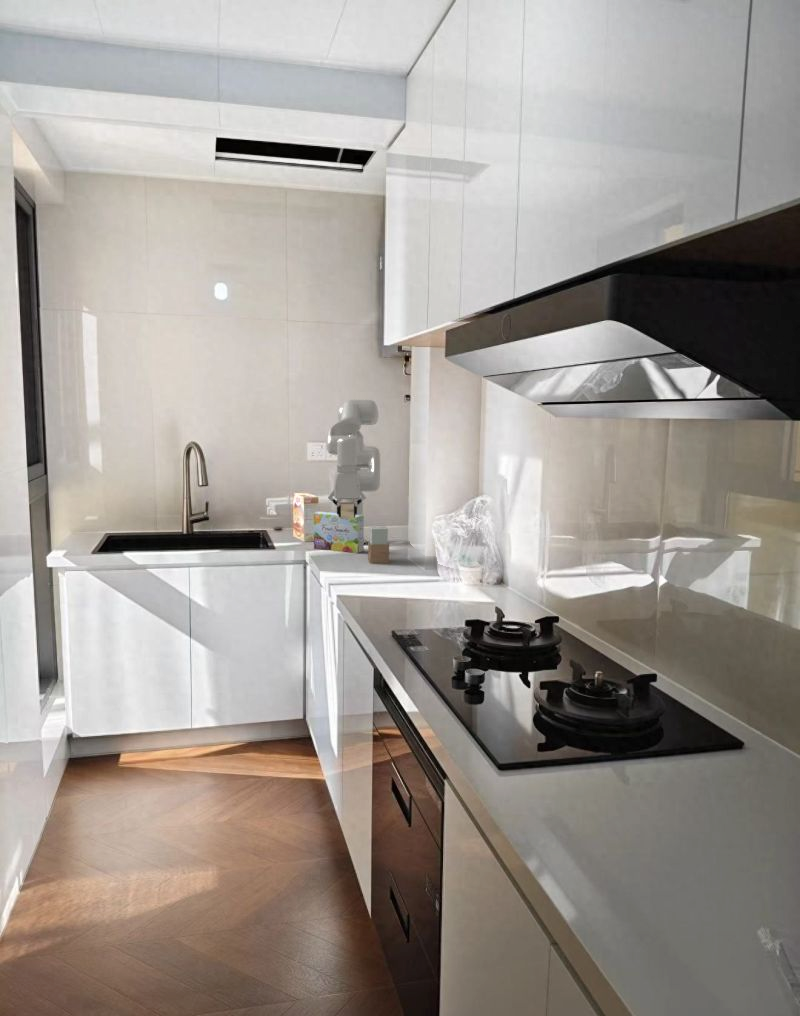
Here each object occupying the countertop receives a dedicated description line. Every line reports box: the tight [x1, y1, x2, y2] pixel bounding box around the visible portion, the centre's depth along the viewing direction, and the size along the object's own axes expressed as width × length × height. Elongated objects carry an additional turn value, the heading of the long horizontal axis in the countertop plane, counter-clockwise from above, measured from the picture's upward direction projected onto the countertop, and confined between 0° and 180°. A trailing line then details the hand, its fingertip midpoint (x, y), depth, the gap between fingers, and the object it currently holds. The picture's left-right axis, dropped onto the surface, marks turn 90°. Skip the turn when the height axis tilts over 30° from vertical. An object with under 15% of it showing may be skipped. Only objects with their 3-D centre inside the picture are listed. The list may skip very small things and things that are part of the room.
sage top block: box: [369, 526, 389, 545], centre depth 315 cm, size 6×6×6 cm
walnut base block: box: [367, 541, 390, 564], centre depth 316 cm, size 7×7×7 cm
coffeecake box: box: [292, 492, 319, 543], centre depth 365 cm, size 15×7×20 cm, turn 25°
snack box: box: [313, 510, 365, 554], centre depth 339 cm, size 21×6×15 cm, turn 62°
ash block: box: [340, 502, 354, 519], centre depth 324 cm, size 5×5×6 cm
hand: (346, 515), depth 325 cm, fingers closed on ash block, 4 cm apart
